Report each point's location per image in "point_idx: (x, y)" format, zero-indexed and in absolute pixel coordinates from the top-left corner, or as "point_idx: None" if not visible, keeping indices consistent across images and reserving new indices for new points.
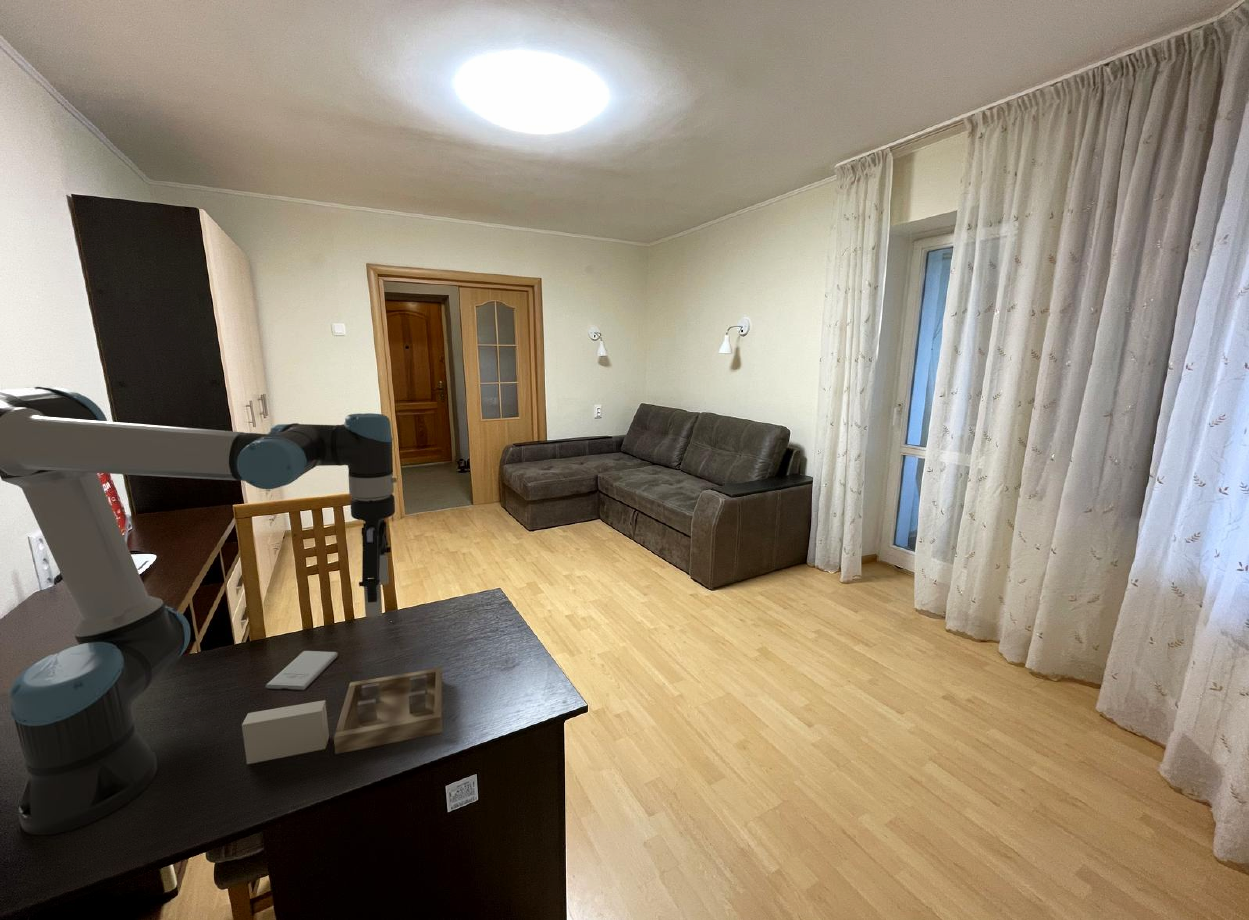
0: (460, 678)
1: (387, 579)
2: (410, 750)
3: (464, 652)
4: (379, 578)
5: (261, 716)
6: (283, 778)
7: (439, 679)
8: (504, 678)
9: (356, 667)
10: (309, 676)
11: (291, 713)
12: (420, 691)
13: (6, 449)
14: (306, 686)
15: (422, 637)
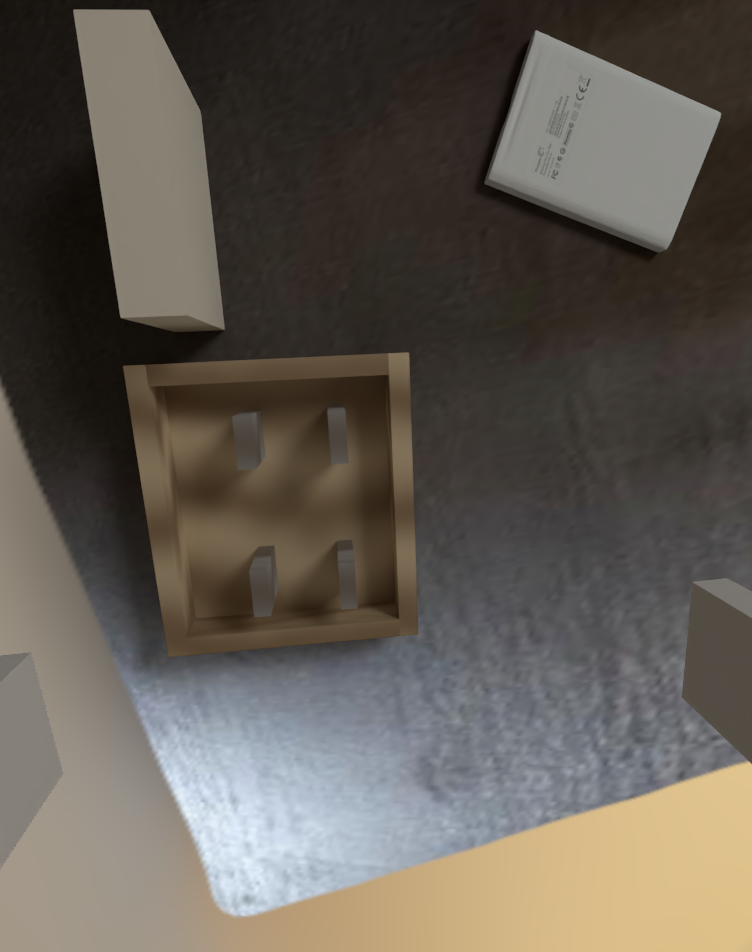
0: (412, 655)
1: (720, 727)
2: (129, 560)
3: (543, 656)
4: (746, 672)
5: (118, 79)
6: (71, 244)
7: (353, 634)
8: (381, 766)
9: (563, 335)
10: (540, 184)
11: (121, 202)
12: (266, 602)
13: None
14: (497, 188)
15: (675, 523)
